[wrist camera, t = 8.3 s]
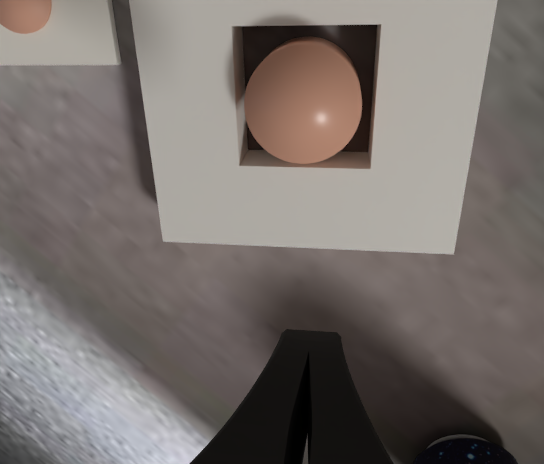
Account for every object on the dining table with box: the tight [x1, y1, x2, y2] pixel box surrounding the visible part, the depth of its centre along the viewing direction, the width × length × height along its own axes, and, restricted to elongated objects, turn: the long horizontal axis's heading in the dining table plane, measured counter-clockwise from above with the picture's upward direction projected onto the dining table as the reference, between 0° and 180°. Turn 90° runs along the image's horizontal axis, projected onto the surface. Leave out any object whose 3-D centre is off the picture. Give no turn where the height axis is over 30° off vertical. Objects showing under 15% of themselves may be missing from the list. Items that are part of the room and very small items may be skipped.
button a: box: [244, 36, 362, 164], centre depth 18 cm, size 4×4×2 cm
